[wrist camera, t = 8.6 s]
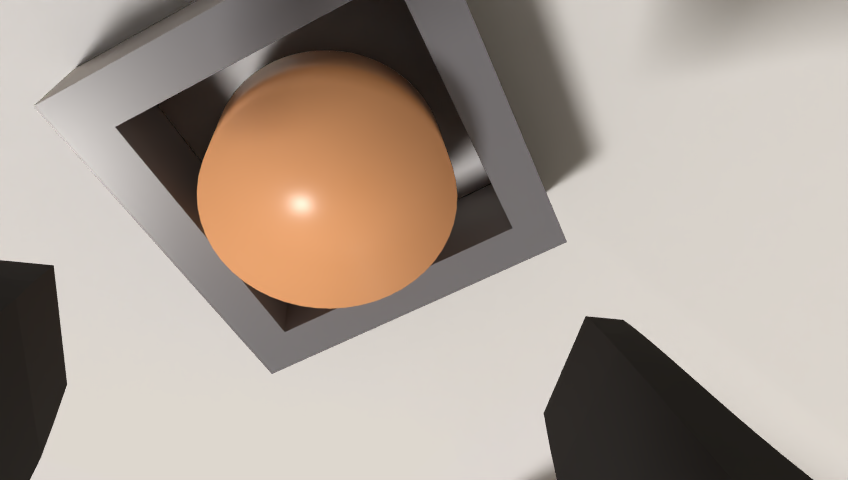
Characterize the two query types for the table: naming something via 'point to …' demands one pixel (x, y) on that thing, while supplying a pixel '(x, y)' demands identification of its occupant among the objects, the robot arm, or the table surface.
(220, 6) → the button frame
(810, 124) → the table surface
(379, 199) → the button
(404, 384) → the table surface
